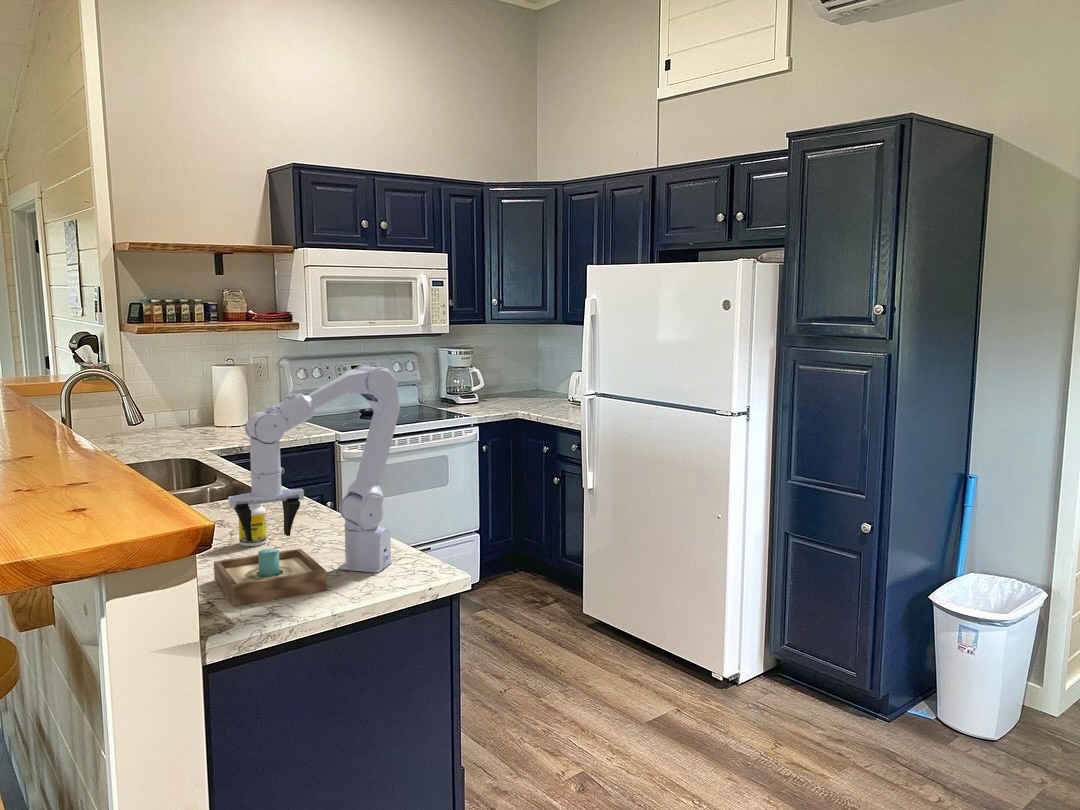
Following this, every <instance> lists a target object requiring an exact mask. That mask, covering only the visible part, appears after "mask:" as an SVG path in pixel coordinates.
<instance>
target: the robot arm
mask: <svg viewBox="0 0 1080 810" xmlns="http://www.w3.org/2000/svg"><path fill="white" fill-rule="evenodd" d="M398 384H399V380H398V379H397V378H396V376H395V375H394V373H393V372H392V371H391V370H390V369H388V368H386V367H382V366H381V367H380V366H379V367H378V366H370V365H367V364H361V365H359V366H357V367H355V368H353V369H349V370H347V371H345V372H344V373H342V374H341V375H340V376H338V377H336V378H334V379H332V380H331V381H329V382H327V383H326V384H324V385H322V386H320V387H319V388H317V389H316V390H314V391H312V392H310V393H309V394H307V395H305V394H302V393H297V394H295V393H290V394H288V395H286V398H287V399H285V400H283V401H281V402H279V403H277V404H275V405H273V406H272V405H268V406H267V407H265V408H266V409H265V410H266V412H265V411H257V412H255V413H253V414H251V415H250V417H249V419H247V421H246V425H245V426H244V430H245V433H246V435H247V436H248V437H249V441H250V444H249V445H250V446H249V447H250V450H249V452H250V453H249V454H250V457H249V458H250V479H251V481H250V482H251V486H250V487H251V492H247V493H242V494H238V495H237V494H236V495H230V496H228V497H227V500H228V507H229V508H233V509H234V511H235V513H236V515H237V517H238V520H239V519H240V521H241V523H242V526H243V529H244V533H245V537H246V540H247V541H248V542H249V541H252V534H251V510H250V509H249V506H248V505H252V504H261V503H262V504H268V503H277V502H281V503H282V510H283V511H282V512H283V534H284V535H285V536H286V537H291V533H292V527H293V523H294V520H295V518H296V515H297V513H298V510H299V509H300V506H301V500H304V499H305V490H304V489H303V488H290V489H289V488H288V489H282V468H281V467H282V465H281V448H280V447H281V446H280V444H281V443H280V440H281V439H282V437H283V435H284V434H285V433H286V432H288V431H290V430H292V429H293V428H295V427H298V426H299V425H301V424H303V423H305V422H306V421H308V420H311V419H312V418H313V417H314V413H315V412H316V409H318V408H320V407H322V406H325V405H327V404H329V403H331V402H333V401H335V400H337V399H339V398H341V397H343V396H345V395H347V394H359V395H360V396H361V397H362V398H364V399H365V400H366V401H367V403H368V404H369V406H370V408H371V409H372V411H373V414H372V417H371V421H370V424H369V428H368V431H367V436H366V439H365V444H364V447H363V451H362V455H361V457H360V458H361V460H360V462H359V466H358V469H357V474H356V477H355V480H354V481H353V482H352V483H351V484H350V485H349V486H348V489H347V491H346V494H345V495H344V497H343V498H342V500H341V501H340V504H339V506H338V507H339V509H338V510H339V513H340V516H341V517H342V518H343V519H344V554H345V555H344V557H345V562H344V563H342V564H341V565H339V566H338V567H337V569H338V570H341V571H342V570H343V571H353V572H354V571H355V572H364V573H376V574H377V573H379V572H381V571H382V570H384V569H385V568H387V567H388V566H389V565H391V564H392V563H393V560H392V557H391V555H392V553H391V551H392V549H391V532H390V530H389V529H388V528H385V527H381V526H379V524H380V523H381V521H382V519H383V518H384V517H383V516H384V507H383V503H384V502H383V501H384V494H383V491H382V489H381V483H382V480H383V475H384V472H385V467H386V464H387V462H388V461H387V460H388V456H389V454H390V453H389V452H390V449H391V445H392V440H393V438H394V435H395V434H394V433H395V430H396V426H397V423H398V418H399V414H400V411H401V410H400V409H401V404H400V399H399V394H398V389H397V388H398V386H399V385H398Z"/></svg>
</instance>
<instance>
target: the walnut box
mask: <svg viewBox="0 0 1080 810" xmlns="http://www.w3.org/2000/svg"><path fill="white" fill-rule="evenodd" d="M279 570H280V575H278V576H274V577H259V559H258V554H254V555H247V556H241V557H235V558H234V557H233V558H228V559H227V558H225V559H220V560H215V561H213V574H214V575H213V577H214V581H215V580H216V581H215V583H216V582H217V583H218V584H217V583H216V584H217V586H218V585H219V586H218V587H219V589H220V591H222V593H223V594H224V596H225V597H226V598H227V599H228V601H229V602H230V604H231V606H232V607H238V606H245V605H248V604H249V605H251V604H255V603H261V602H266V601H267V602H268V601H273V600H277V599H279V600H280V599H283V598H284V599H285V598H289V597H294V596H300V595H306V594H311V593H316V592H322V591H327V590H328V589H327V585H328V584H327V570H326V569H325V568H324V567H323V566H322V565H320V564H319V563H318V562H317V561H316V560H315V559H313V557H311V556H310V555H309V554H308V553H306V551H304V550H303V549H302V548H295V549H289V550H288V549H287V550H282V551H280V550H279Z"/></svg>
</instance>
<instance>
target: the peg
mask: <svg viewBox="0 0 1080 810" xmlns="http://www.w3.org/2000/svg"><path fill="white" fill-rule="evenodd" d="M279 552H280V550H279V549H276V548H265V549H261V550H259V551H257V553H258V554H257V555H258V559H259V577H274V576H278V575H280V570H279Z"/></svg>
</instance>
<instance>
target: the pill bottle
mask: <svg viewBox="0 0 1080 810" xmlns="http://www.w3.org/2000/svg"><path fill="white" fill-rule="evenodd" d="M262 505H263V503H261V504H252V505H248V506H249V509H250V510H251V534H252V541H249V542H248V541H247V540H246V537H245V533H244V529H243V526H242V523H241V521H240V519H239V518H238V537H239V542H238V543H239V545H240V546H243V547H249V546H251V547H258V546H262V545H264V544H266V542H267V511H266V508H265V506H262Z"/></svg>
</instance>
